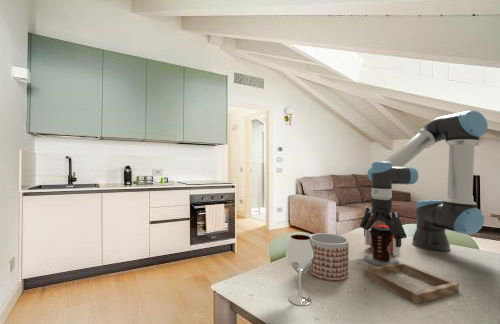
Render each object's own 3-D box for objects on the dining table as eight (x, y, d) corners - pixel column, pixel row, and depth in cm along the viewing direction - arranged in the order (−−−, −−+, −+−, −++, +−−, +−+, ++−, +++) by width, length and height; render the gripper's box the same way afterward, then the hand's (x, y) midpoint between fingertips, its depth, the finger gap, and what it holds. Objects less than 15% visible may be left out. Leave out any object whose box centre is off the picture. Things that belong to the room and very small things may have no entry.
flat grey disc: (379, 253, 111) (379, 252, 111) (407, 264, 98) (407, 263, 98) (357, 257, 106) (357, 255, 106) (383, 269, 94) (383, 267, 94)
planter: (301, 271, 90) (301, 237, 91) (322, 262, 99) (322, 231, 99) (334, 285, 80) (335, 246, 80) (355, 274, 89) (355, 239, 89)
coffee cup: (389, 256, 105) (389, 226, 105) (396, 264, 97) (396, 231, 97) (367, 255, 107) (367, 225, 107) (373, 262, 99) (373, 229, 99)
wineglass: (319, 299, 71) (319, 237, 72) (305, 311, 65) (306, 243, 66) (295, 289, 77) (295, 232, 77) (280, 300, 71) (280, 237, 71)
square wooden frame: (401, 268, 94) (401, 262, 94) (458, 292, 77) (458, 284, 77) (364, 276, 87) (364, 268, 87) (417, 303, 70) (417, 294, 70)
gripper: (351, 195, 113) (351, 241, 112) (403, 202, 90) (403, 261, 89) (364, 194, 116) (364, 240, 115) (417, 202, 92) (417, 258, 92)
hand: (381, 249), depth 102 cm, fingers open, 13 cm apart
